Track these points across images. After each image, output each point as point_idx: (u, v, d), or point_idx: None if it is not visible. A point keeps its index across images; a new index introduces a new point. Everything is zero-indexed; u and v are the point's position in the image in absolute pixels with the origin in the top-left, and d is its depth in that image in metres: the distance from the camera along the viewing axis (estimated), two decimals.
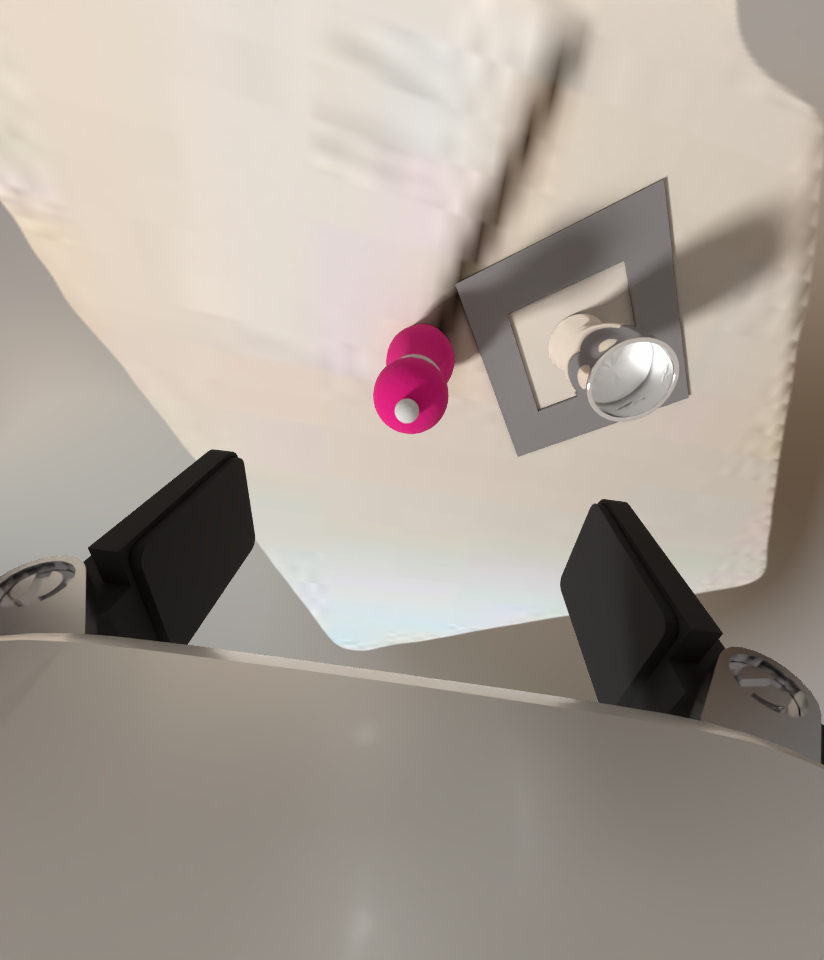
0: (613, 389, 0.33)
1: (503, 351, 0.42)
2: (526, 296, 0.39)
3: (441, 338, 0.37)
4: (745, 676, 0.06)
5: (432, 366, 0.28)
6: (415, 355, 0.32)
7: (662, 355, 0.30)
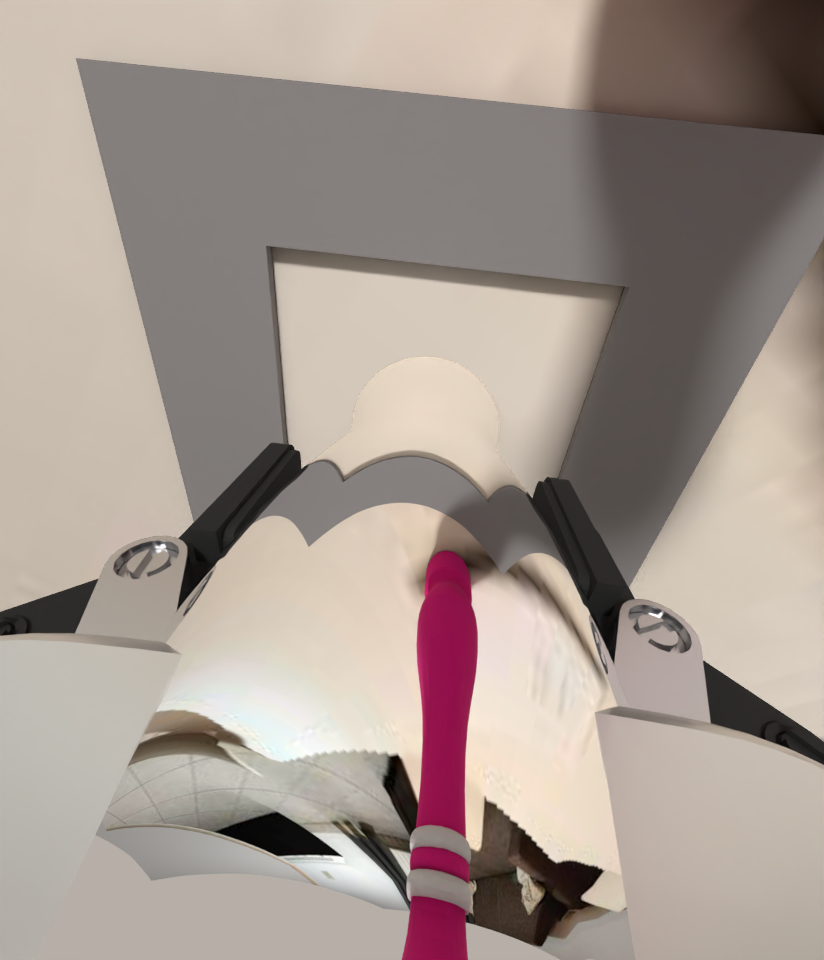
0: None
1: (533, 216, 0.11)
2: (626, 362, 0.13)
3: None
4: (642, 625, 0.06)
5: None
6: None
7: None
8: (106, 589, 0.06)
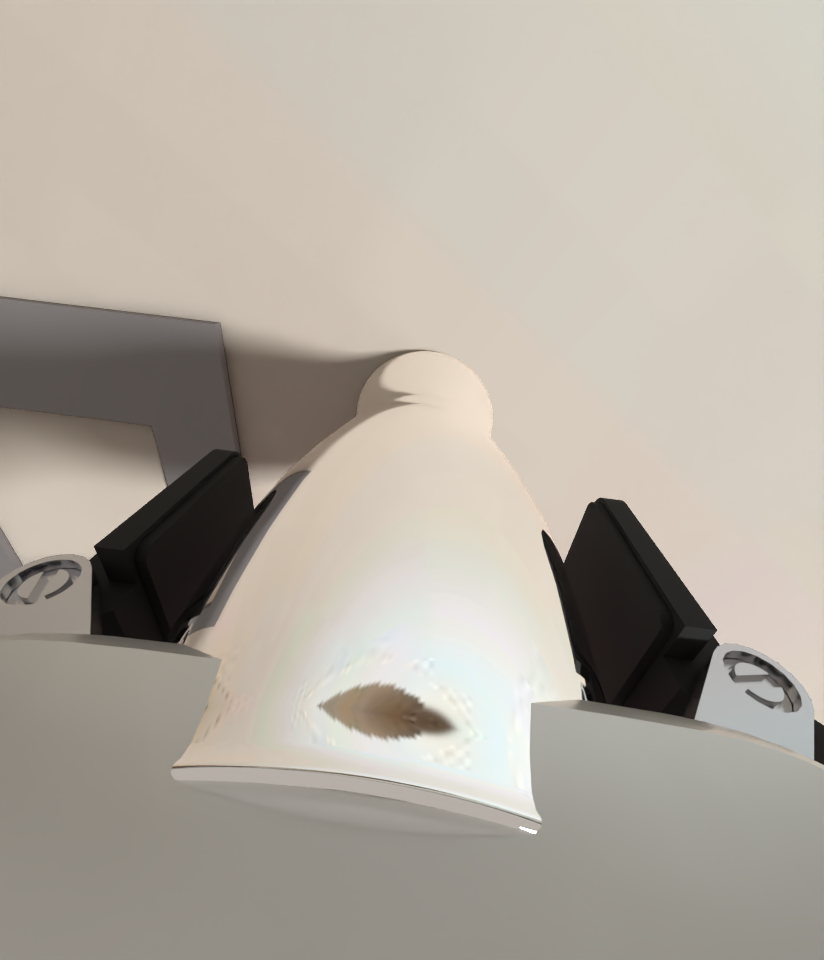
0: None
1: None
2: None
3: None
4: (739, 672, 0.06)
5: None
6: None
7: None
8: None
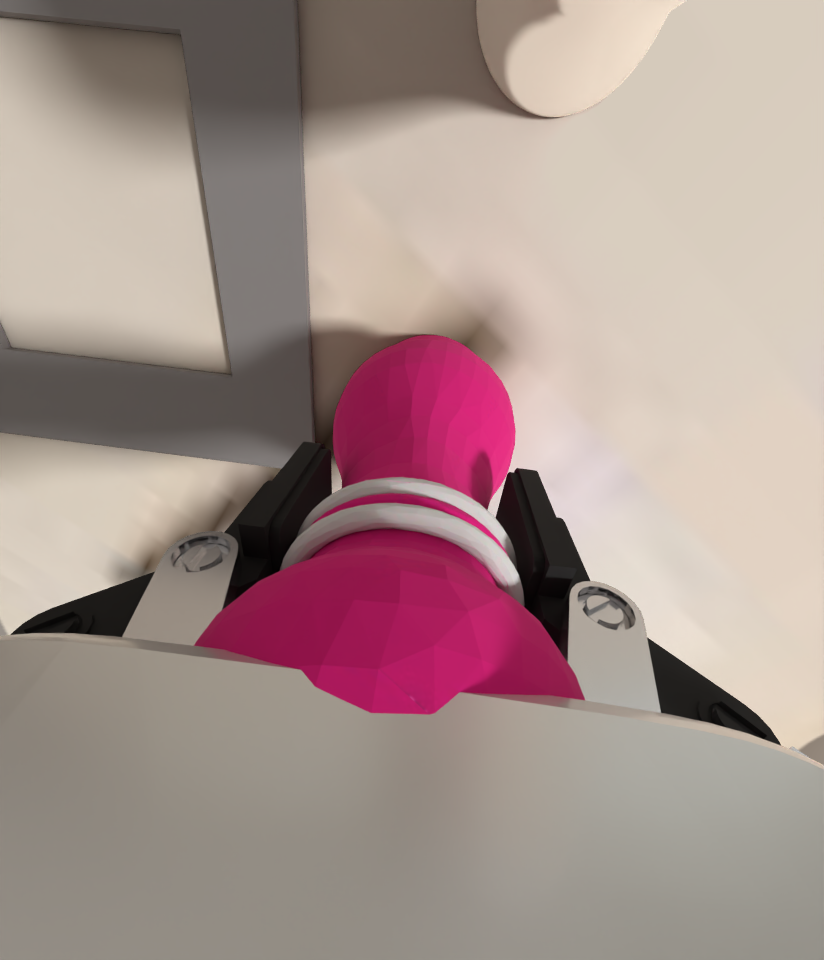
0: None
1: (254, 304, 0.17)
2: (190, 387, 0.19)
3: None
4: (590, 606, 0.07)
5: None
6: None
7: None
8: (167, 582, 0.06)
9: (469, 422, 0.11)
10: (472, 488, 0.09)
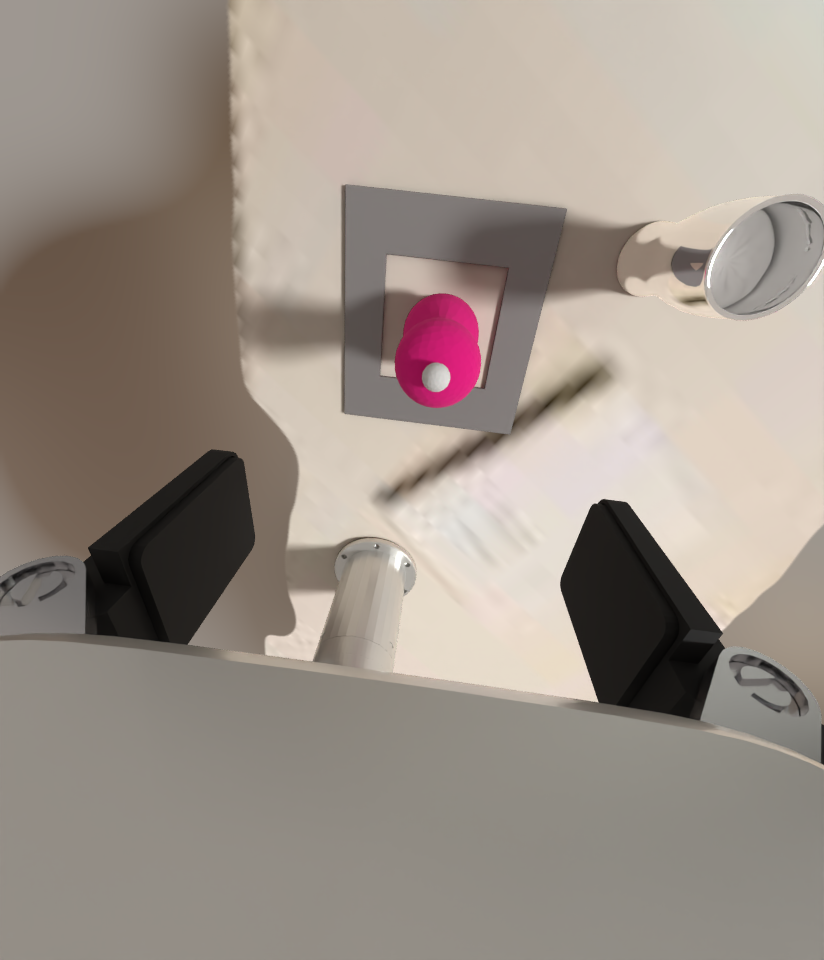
0: None
1: (505, 359, 0.40)
2: None
3: None
4: (745, 676, 0.06)
5: None
6: None
7: None
8: None
9: (459, 319, 0.32)
10: None
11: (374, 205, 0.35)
